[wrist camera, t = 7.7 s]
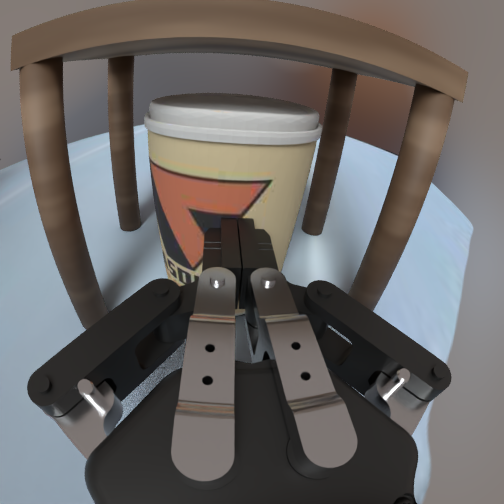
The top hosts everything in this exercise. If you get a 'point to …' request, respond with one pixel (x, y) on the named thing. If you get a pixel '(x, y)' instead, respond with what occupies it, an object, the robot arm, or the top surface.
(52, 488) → the top surface
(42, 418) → the top surface
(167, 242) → the coffee cup
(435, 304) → the top surface
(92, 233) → the top surface
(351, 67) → the cover stand
